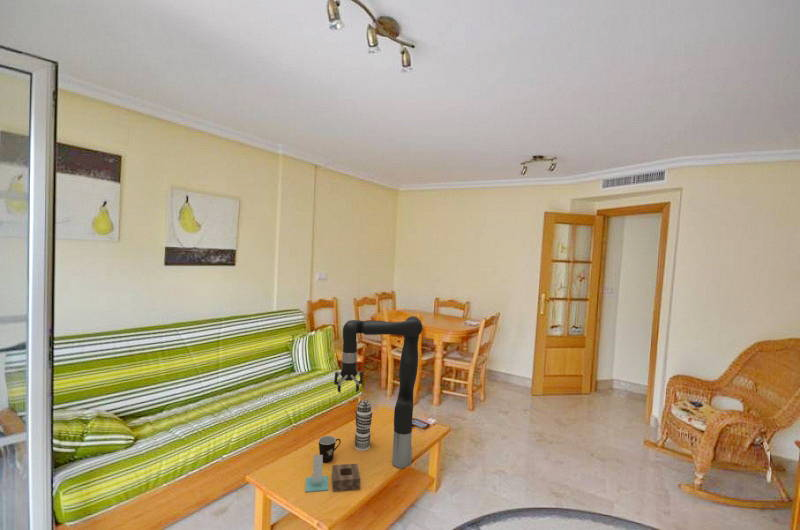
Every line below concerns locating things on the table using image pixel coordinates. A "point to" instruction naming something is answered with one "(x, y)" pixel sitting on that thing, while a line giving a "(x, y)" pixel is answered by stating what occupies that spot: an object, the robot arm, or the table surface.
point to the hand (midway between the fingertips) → (348, 391)
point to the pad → (316, 488)
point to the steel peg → (317, 470)
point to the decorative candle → (363, 425)
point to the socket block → (345, 477)
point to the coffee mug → (327, 448)
